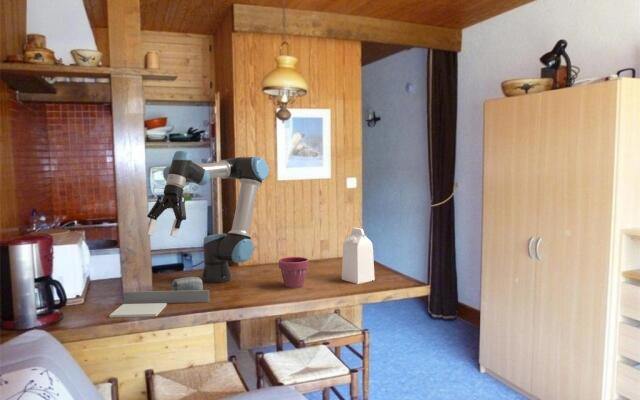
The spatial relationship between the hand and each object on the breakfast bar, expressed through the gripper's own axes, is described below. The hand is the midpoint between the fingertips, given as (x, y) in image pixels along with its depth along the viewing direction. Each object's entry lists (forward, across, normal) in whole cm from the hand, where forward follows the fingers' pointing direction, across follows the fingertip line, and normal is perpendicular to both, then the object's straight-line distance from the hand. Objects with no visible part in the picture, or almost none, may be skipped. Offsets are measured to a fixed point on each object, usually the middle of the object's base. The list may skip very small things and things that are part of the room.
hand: (161, 235), depth 192 cm
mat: (+31, -7, +6) cm, 32 cm away
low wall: (+25, -6, +18) cm, 32 cm away
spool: (+20, -7, +30) cm, 37 cm away
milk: (-3, +50, +85) cm, 99 cm away
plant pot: (+7, +27, +63) cm, 69 cm away
